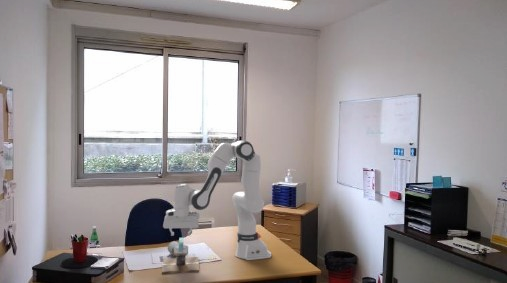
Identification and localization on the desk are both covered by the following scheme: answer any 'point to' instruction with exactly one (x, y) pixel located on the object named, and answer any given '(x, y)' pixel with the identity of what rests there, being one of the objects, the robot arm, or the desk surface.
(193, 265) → the beige square tray
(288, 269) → the desk surface
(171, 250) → the ceramic mug
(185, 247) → the coupling
